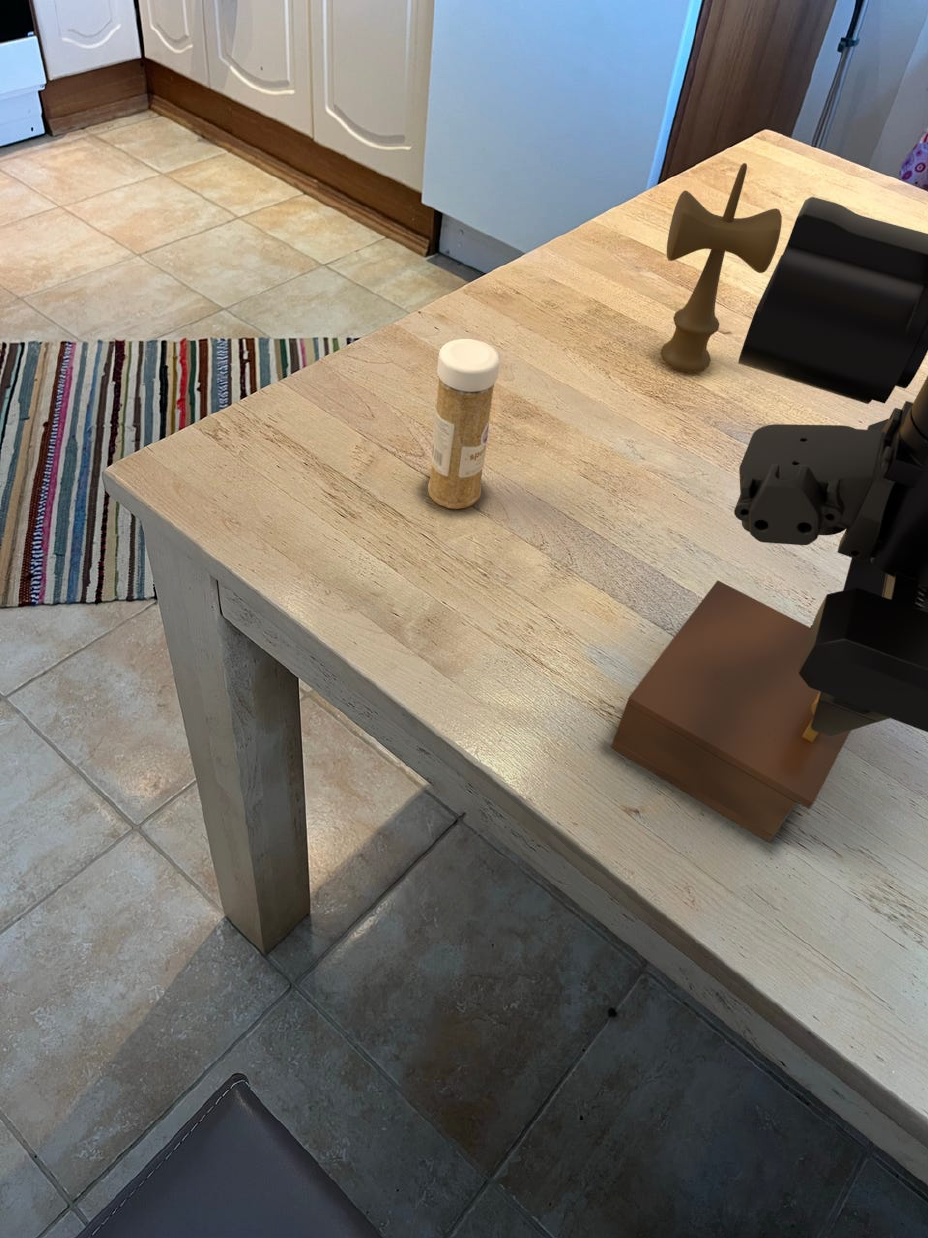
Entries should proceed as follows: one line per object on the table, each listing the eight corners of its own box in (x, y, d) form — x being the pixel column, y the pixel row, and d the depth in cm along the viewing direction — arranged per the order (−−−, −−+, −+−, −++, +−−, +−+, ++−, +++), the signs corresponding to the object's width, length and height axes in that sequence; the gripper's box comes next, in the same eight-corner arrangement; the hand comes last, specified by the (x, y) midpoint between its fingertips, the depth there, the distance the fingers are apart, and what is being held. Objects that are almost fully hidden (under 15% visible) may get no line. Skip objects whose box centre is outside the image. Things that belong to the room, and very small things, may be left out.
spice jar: (481, 512, 78) (502, 372, 69) (426, 509, 78) (439, 368, 68) (479, 477, 82) (498, 337, 72) (426, 474, 81) (438, 333, 71)
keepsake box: (840, 708, 68) (868, 666, 64) (769, 843, 60) (796, 803, 56) (696, 631, 72) (714, 587, 68) (610, 747, 64) (626, 704, 60)
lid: (880, 671, 64) (909, 627, 61) (809, 810, 56) (838, 767, 53) (714, 586, 68) (734, 540, 65) (626, 703, 60) (643, 658, 57)
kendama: (637, 339, 100) (689, 140, 85) (729, 354, 99) (796, 158, 84) (636, 370, 95) (690, 167, 81) (731, 386, 95) (802, 185, 80)
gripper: (823, 281, 47) (728, 517, 58) (742, 492, 35) (642, 737, 46) (1057, 348, 45) (910, 581, 56) (1057, 600, 33) (869, 830, 44)
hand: (834, 668), depth 51 cm, fingers open, 9 cm apart
